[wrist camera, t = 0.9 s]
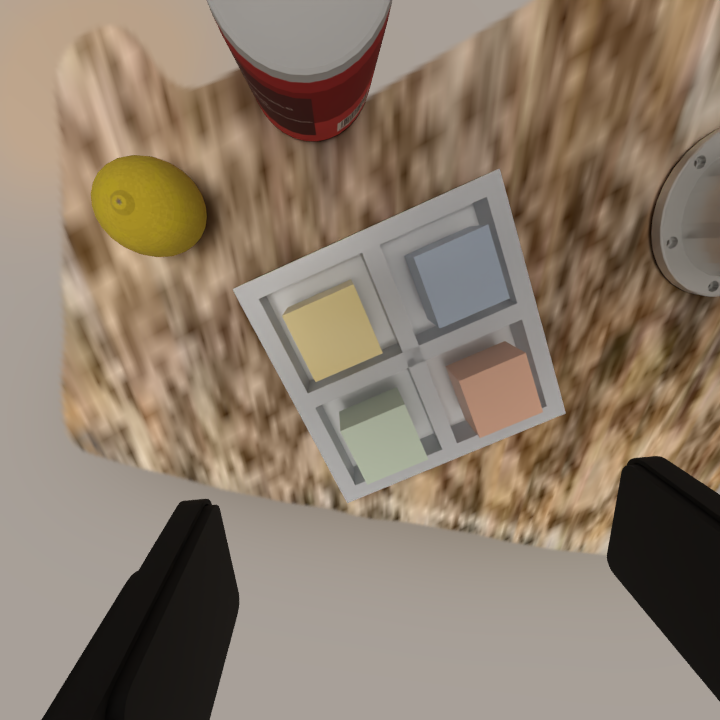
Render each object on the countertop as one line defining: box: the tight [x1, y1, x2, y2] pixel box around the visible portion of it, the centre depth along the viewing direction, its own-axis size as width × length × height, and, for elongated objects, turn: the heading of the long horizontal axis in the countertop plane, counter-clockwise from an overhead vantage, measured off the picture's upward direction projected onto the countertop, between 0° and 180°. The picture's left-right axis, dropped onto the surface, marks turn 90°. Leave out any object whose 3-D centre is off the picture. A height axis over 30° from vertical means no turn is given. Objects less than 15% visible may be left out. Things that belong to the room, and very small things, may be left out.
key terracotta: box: [445, 341, 543, 438], centre depth 26 cm, size 5×5×3 cm
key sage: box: [339, 387, 428, 485], centre depth 26 cm, size 5×5×3 cm
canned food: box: [207, 0, 392, 141], centre depth 19 cm, size 8×8×11 cm
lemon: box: [91, 155, 207, 257], centre depth 22 cm, size 6×6×8 cm
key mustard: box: [282, 279, 383, 382], centre depth 24 cm, size 5×5×3 cm
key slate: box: [404, 224, 510, 328], centre depth 23 cm, size 5×5×3 cm
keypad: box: [233, 169, 565, 503], centre depth 28 cm, size 18×18×4 cm
